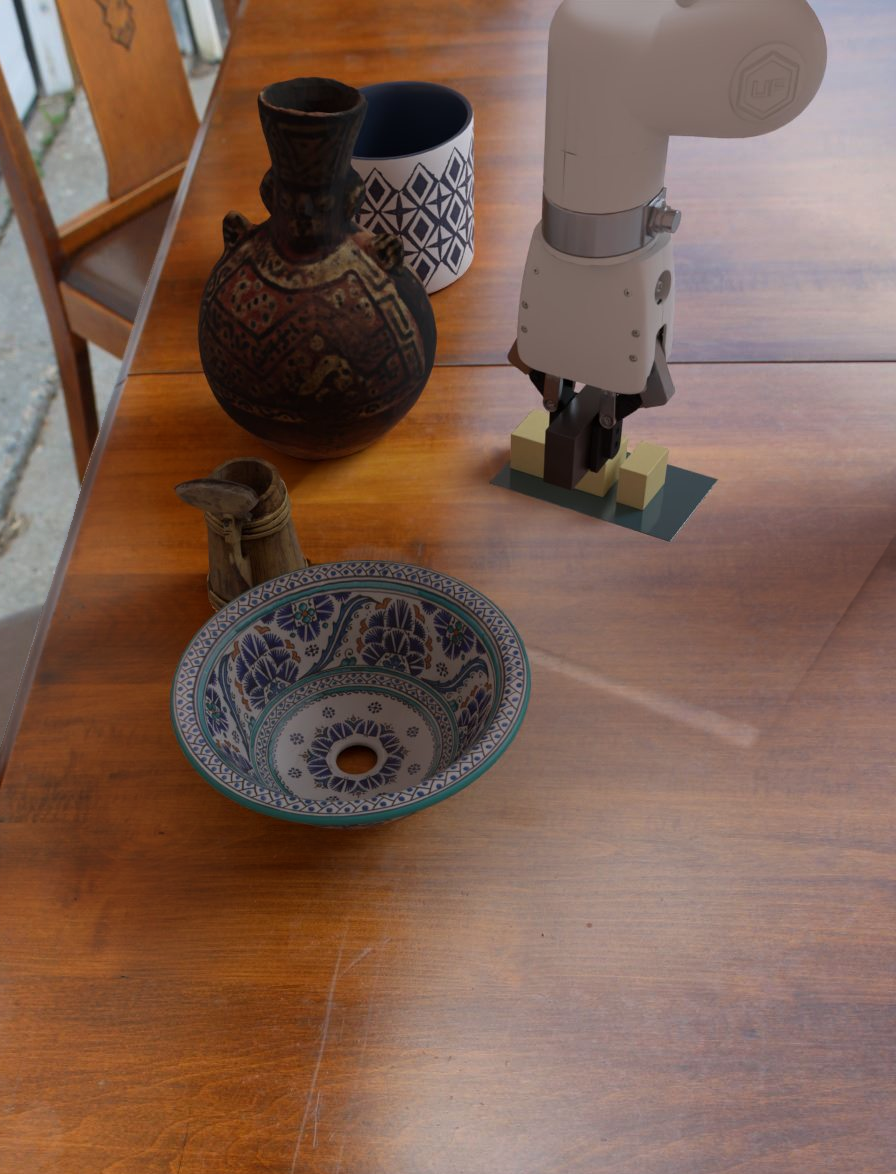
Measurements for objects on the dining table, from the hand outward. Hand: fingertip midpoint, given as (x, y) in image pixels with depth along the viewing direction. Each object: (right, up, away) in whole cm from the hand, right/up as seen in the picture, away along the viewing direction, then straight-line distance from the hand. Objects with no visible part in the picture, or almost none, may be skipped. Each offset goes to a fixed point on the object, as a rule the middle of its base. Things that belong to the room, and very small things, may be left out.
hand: (583, 454), depth 100 cm
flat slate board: (+5, +2, +15) cm, 15 cm away
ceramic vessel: (-19, +9, +24) cm, 32 cm away
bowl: (-17, -24, -1) cm, 29 cm away
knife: (+3, +3, +2) cm, 5 cm away
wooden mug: (-25, -9, +11) cm, 29 cm away
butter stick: (+2, +4, +15) cm, 16 cm away
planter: (-11, +33, +40) cm, 53 cm away
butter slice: (+7, +1, +12) cm, 14 cm away
